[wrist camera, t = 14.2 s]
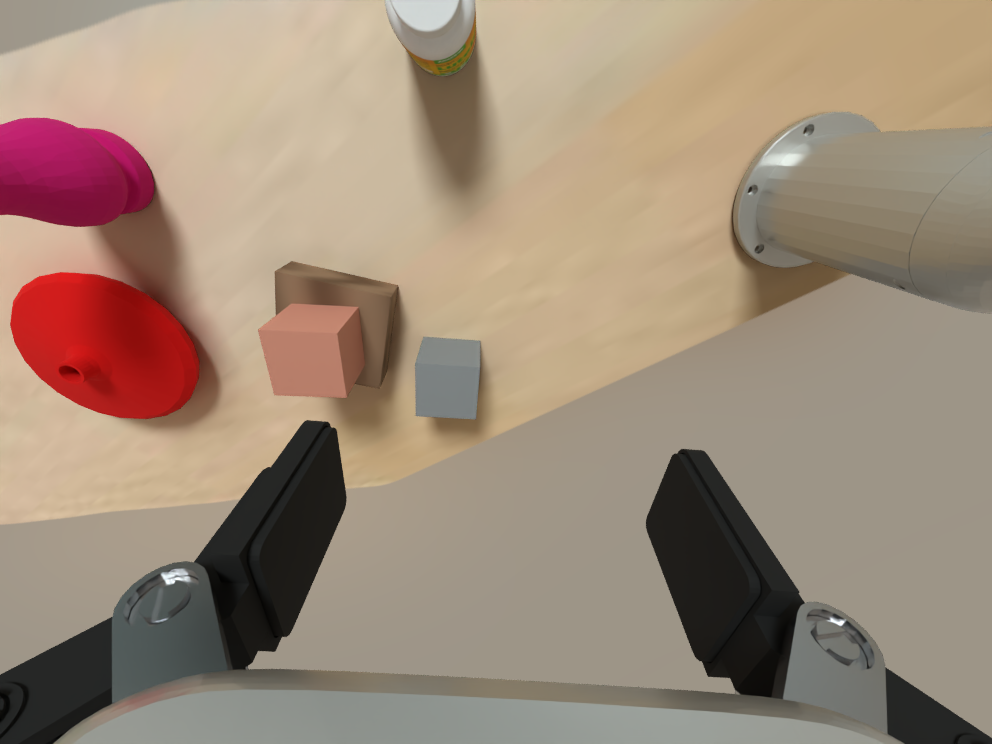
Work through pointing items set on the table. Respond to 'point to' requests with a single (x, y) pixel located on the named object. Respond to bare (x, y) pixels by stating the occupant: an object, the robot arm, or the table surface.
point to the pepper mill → (69, 173)
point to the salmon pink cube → (313, 350)
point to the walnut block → (345, 290)
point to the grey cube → (447, 378)
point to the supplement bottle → (435, 32)
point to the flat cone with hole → (104, 345)
